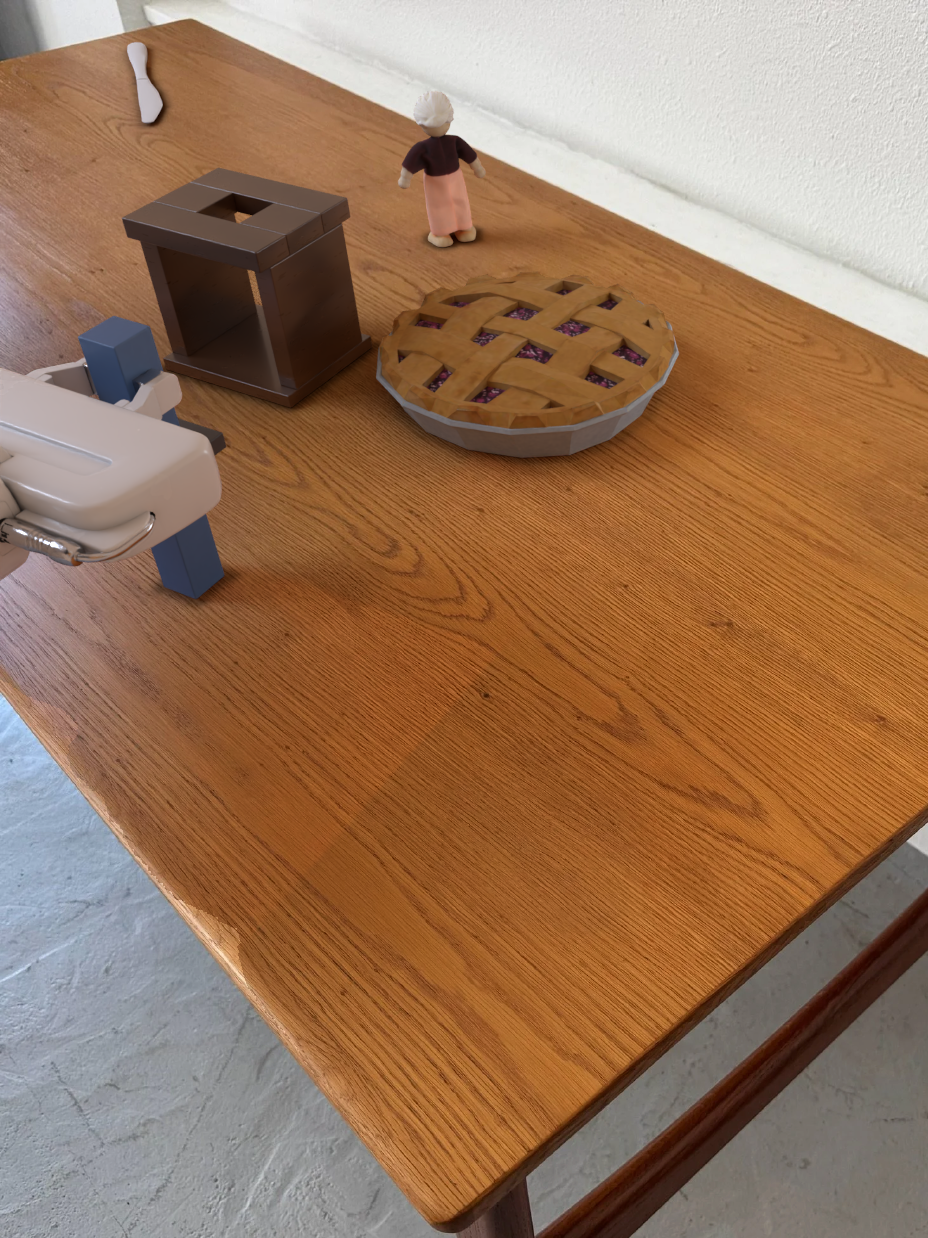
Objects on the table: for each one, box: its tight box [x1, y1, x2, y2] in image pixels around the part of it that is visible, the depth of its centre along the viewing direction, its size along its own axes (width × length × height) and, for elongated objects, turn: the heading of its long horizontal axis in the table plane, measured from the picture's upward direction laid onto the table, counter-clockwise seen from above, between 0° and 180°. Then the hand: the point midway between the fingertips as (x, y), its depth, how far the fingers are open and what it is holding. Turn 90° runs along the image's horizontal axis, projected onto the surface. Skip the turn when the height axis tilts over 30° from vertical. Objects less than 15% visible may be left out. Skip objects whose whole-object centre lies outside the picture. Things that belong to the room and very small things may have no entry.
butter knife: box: [126, 41, 163, 124], centre depth 140 cm, size 1×27×3 cm
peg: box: [77, 315, 227, 600], centre depth 70 cm, size 6×6×17 cm
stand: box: [121, 167, 373, 409], centre depth 92 cm, size 10×12×12 cm
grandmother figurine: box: [397, 90, 487, 248], centre depth 107 cm, size 8×4×13 cm, turn 126°
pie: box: [375, 271, 680, 459], centre depth 91 cm, size 22×22×5 cm
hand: (141, 373), depth 67 cm, fingers closed on peg, 2 cm apart
